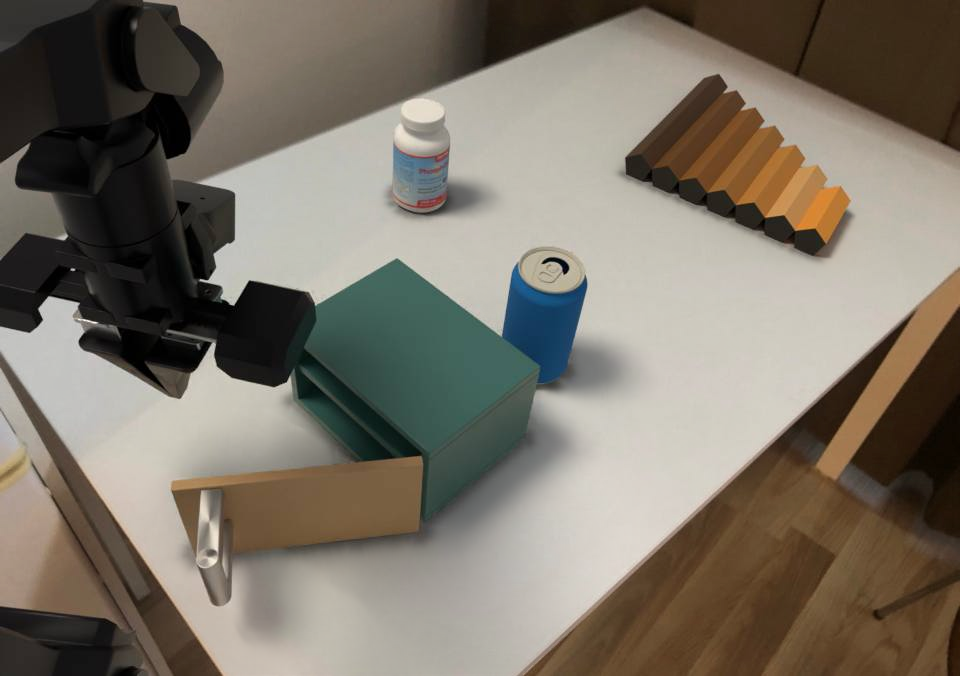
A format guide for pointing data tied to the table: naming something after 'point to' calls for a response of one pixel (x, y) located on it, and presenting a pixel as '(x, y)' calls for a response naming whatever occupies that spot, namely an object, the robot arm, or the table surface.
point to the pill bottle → (421, 156)
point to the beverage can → (545, 307)
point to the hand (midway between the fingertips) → (178, 392)
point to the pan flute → (738, 167)
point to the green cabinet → (414, 381)
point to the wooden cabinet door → (294, 510)
